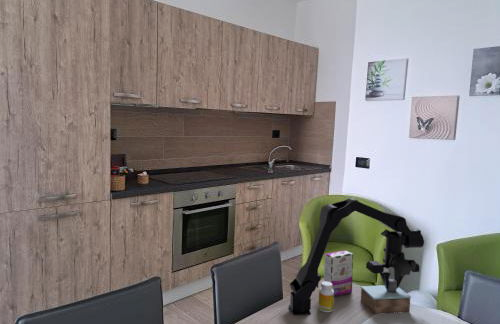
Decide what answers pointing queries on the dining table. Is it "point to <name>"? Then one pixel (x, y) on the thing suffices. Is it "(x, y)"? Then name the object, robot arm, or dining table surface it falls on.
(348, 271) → the candy bar box
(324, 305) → the supplement bottle
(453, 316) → the dining table surface
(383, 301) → the walnut box
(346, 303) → the dining table surface
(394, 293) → the sliding cover
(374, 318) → the dining table surface
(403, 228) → the robot arm
